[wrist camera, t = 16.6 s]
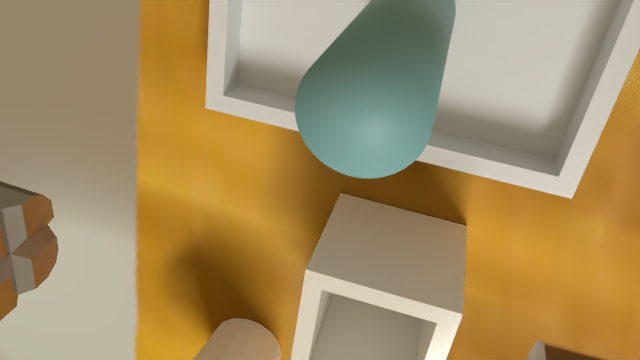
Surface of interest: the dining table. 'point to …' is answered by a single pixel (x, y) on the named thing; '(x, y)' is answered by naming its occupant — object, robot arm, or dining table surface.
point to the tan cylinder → (240, 342)
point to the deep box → (381, 286)
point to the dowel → (377, 88)
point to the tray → (453, 77)
